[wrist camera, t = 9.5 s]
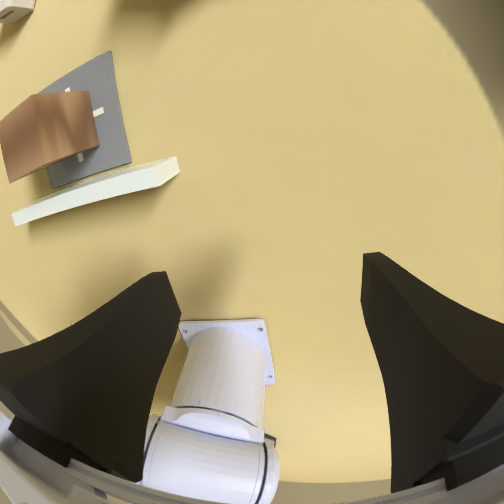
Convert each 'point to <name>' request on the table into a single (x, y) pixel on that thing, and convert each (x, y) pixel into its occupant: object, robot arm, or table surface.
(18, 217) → the frosted wall
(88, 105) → the walnut block
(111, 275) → the table surface
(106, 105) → the pad
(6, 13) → the usb wall charger
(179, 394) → the robot arm
